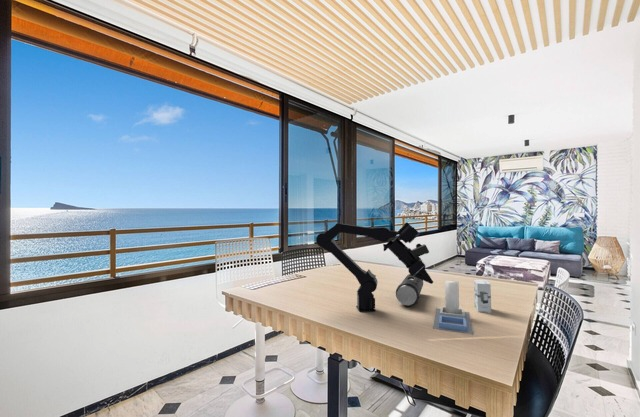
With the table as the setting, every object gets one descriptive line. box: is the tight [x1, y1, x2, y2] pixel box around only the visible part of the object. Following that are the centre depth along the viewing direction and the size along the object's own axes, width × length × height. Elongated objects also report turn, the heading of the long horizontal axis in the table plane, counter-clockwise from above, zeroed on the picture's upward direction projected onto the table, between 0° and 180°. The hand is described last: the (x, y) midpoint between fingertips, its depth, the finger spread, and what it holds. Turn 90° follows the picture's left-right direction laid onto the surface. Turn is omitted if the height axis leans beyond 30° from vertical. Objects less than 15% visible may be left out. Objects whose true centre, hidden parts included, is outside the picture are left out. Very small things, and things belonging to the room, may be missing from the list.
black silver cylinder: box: [395, 273, 424, 307], centre depth 131 cm, size 10×28×10 cm, turn 156°
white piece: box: [444, 280, 460, 314], centre depth 109 cm, size 5×5×12 cm
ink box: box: [473, 279, 492, 314], centre depth 116 cm, size 9×5×12 cm, turn 160°
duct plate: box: [432, 306, 474, 335], centre depth 104 cm, size 24×12×2 cm, turn 155°
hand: (431, 280), depth 112 cm, fingers open, 9 cm apart
